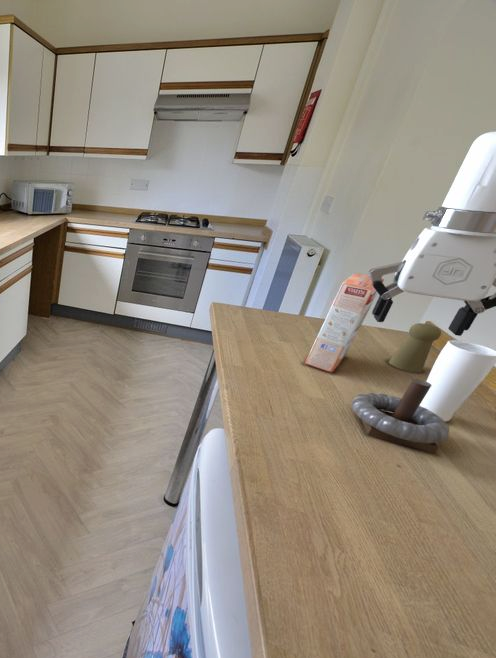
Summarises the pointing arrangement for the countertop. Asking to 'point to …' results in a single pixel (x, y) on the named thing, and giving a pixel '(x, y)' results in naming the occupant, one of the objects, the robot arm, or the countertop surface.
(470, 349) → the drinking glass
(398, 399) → the grey ridged ring
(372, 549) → the countertop surface
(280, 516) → the countertop surface
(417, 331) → the olive pawn shaped figure
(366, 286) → the cracker box
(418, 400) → the post
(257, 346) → the countertop surface
